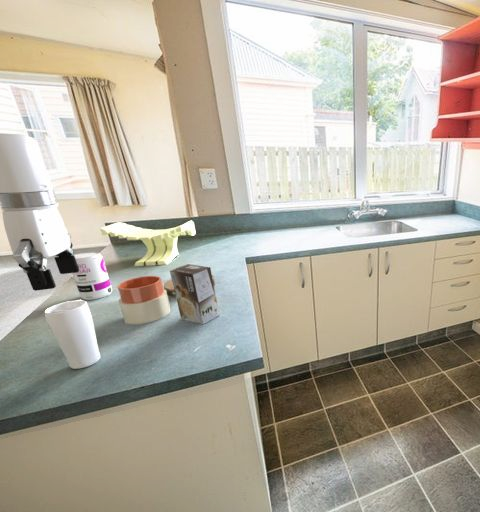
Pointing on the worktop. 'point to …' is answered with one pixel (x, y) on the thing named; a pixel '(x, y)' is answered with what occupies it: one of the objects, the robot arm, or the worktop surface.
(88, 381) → the worktop surface
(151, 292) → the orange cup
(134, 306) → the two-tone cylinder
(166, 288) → the brown flat disc
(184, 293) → the coffee box
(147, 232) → the slatted curved stool
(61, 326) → the white tumbler
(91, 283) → the supplement can
